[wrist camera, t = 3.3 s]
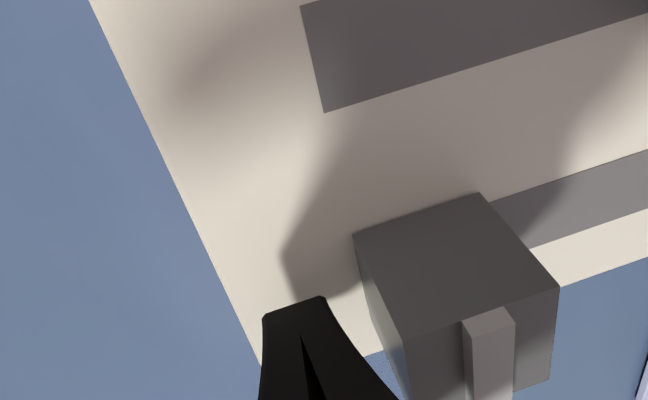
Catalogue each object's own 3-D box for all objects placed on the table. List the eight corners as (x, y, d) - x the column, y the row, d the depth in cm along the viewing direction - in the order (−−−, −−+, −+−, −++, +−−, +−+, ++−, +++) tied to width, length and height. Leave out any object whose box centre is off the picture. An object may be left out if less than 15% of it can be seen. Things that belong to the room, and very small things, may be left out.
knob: (480, 281, 14) (560, 395, 11) (371, 320, 13) (425, 445, 11) (479, 191, 12) (574, 301, 9) (351, 234, 12) (411, 360, 9)
